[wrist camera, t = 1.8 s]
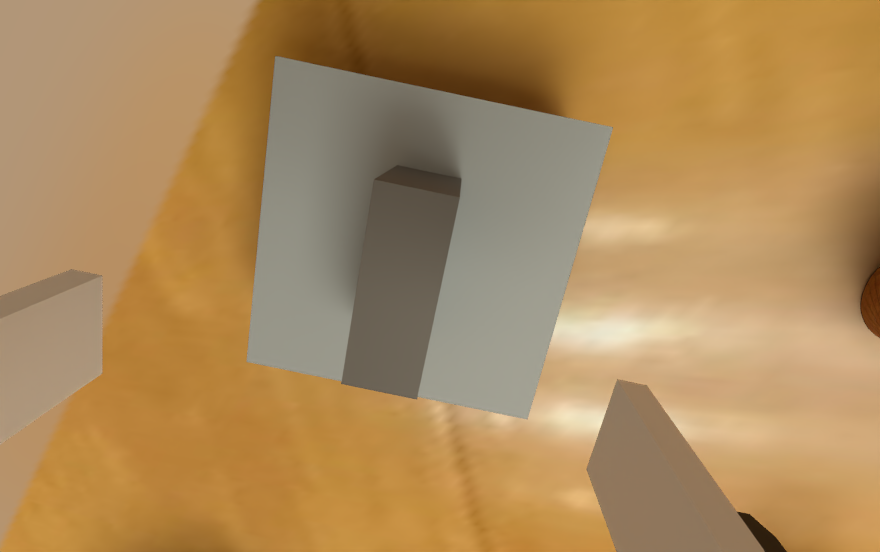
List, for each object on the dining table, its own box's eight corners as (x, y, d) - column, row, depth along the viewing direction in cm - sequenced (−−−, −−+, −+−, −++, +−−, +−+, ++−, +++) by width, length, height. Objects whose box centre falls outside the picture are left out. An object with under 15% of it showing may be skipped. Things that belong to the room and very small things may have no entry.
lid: (606, 127, 23) (665, 129, 16) (525, 409, 27) (544, 502, 21) (283, 58, 23) (206, 31, 16) (254, 353, 27) (184, 429, 20)
